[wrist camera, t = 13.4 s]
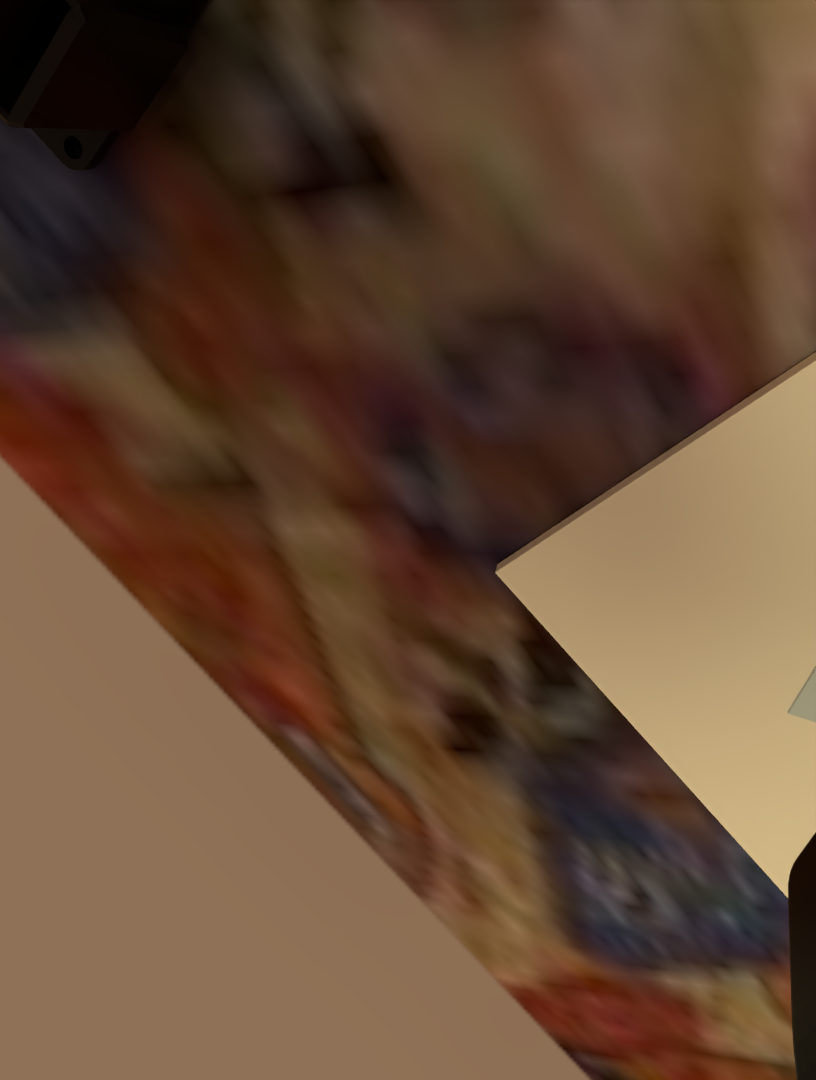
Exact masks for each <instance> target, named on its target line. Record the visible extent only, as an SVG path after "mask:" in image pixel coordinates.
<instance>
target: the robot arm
mask: <svg viewBox="0 0 816 1080" xmlns="http://www.w3.org/2000/svg"><path fill="white" fill-rule="evenodd" d="M207 2H208V0H0V117H1V118H2V119H3V120H4V121H5V122H6V124H7V125H9V126H11V127H23V128H31V129H32V130H33V131H34V132H35V133H36V134H37V135H38V136H39V137H40V139H41V140H42V141H43V142H44V143H45V144H46V145H47V146H48V147H49V148H50V149H51V150H52V152H53V153H54V154H55V155H56V156H57V157H58V158H59V159H60V160H61V161H62V162H63V163H64V164H65V165H66V166H67V167H69V168H70V169H74V170H89V169H93V168H94V167H95V166H96V165H97V164H98V163H99V162H100V160H101V159H102V157H103V156H104V154H105V153H106V151H107V150H108V148H109V147H110V146H111V144H112V143H113V141H114V140H115V138H116V137H117V135H118V134H119V132H120V131H131V130H132V129H133V128H134V127H135V125H136V124H137V122H138V121H139V119H140V118H141V116H142V115H143V113H144V112H145V110H146V109H147V108H148V106H149V105H150V103H151V102H152V100H153V99H154V97H155V96H156V94H157V93H158V91H159V90H160V89H161V87H162V86H163V84H164V83H165V81H166V80H167V78H168V77H169V75H170V74H171V72H172V71H173V70H174V68H175V67H176V65H177V64H178V62H179V61H180V59H181V58H182V56H183V55H184V53H185V52H186V51H187V49H188V32H187V31H188V30H189V28H190V27H191V25H192V24H193V23H194V21H195V20H196V18H197V17H198V15H199V14H200V12H201V11H202V9H203V8H204V6H205V5H206V3H207ZM76 138H77V139H79V141H80V143H81V145H82V150H83V152H82V155H81V157H79V156H78V155H77V153H76V152H75V149H74V142H75V139H76ZM788 907H789V940H790V973H791V1007H792V1030H793V1047H794V1056H795V1065H796V1074H797V1080H816V832H815V834H814V835H813V836H812V838H811V839H810V841H809V842H808V843H807V845H806V846H805V848H804V849H803V850H802V852H801V853H800V854H799V856H798V857H797V859H796V860H795V862H794V864H793V866H792V868H791V871H790V875H789V881H788Z"/></svg>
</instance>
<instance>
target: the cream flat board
mask: <svg viewBox="0 0 816 1080" xmlns="http://www.w3.org/2000/svg"><path fill="white" fill-rule="evenodd" d="M495 573H496V574H497V575H498V576H499V578H500V579H501V580H502V581H503V582H504V583H505V584H506V585H507V586H508V588H509V589H510V590H511V591H512V592H513V593H514V594H515V595H516V596H517V598H518V599H519V600H520V601H521V602H522V603H523V604H524V605H525V606H526V608H527V609H528V610H529V611H530V612H531V613H532V614H533V615H534V616H535V618H536V619H537V620H538V621H539V622H540V623H541V624H542V625H543V626H544V628H545V629H546V630H547V631H548V632H549V633H550V634H551V635H552V636H553V638H554V639H555V640H556V641H557V642H558V643H559V644H560V645H561V646H562V648H563V649H564V650H565V651H566V652H567V653H568V654H569V655H570V656H571V658H572V659H573V660H574V661H575V662H576V663H577V664H578V665H579V666H580V668H581V669H582V670H583V671H584V672H585V673H586V674H587V675H588V676H589V678H590V679H591V680H592V681H593V682H594V683H595V684H596V685H597V686H598V688H599V689H600V690H601V691H602V692H603V693H604V694H605V695H606V696H607V698H608V699H609V700H610V701H611V702H612V703H613V704H614V705H615V706H616V708H617V709H618V710H619V711H620V712H621V713H622V714H623V715H624V716H625V718H626V719H627V720H628V721H629V722H630V723H631V724H632V725H633V726H634V728H635V729H636V730H637V731H638V732H639V733H640V734H641V735H642V736H643V738H644V739H645V740H646V741H647V742H648V743H649V744H650V745H651V746H652V748H653V749H654V750H655V751H656V752H657V753H658V754H659V755H660V756H661V758H662V759H663V760H664V761H665V762H666V763H667V764H668V765H669V766H670V768H671V769H672V770H673V771H674V772H675V773H676V774H677V775H678V776H679V778H680V779H681V780H682V781H683V782H684V783H685V784H686V785H687V786H688V788H689V789H690V790H691V791H692V792H693V793H694V794H695V795H696V796H697V798H698V799H699V800H700V801H701V802H702V803H703V804H704V805H705V806H706V808H707V809H708V810H709V811H710V812H711V813H712V814H713V815H714V816H715V818H716V819H717V820H718V821H719V822H720V823H721V824H722V825H723V826H724V828H725V829H726V830H727V831H728V832H729V833H730V834H731V835H732V836H733V838H734V839H735V840H736V841H737V842H738V843H739V844H740V845H741V846H742V848H743V849H744V850H745V851H746V852H747V853H748V854H749V855H750V856H751V858H752V859H753V860H754V861H755V862H756V863H757V864H758V865H759V866H760V868H761V869H762V870H763V871H764V872H765V873H766V874H767V875H768V876H769V878H770V879H771V880H772V881H773V882H774V883H775V884H776V885H777V886H778V888H779V889H780V890H781V891H782V892H783V893H784V894H785V895H786V896H787V898H788V881H789V875H790V871H791V868H792V866H793V864H794V862H795V860H796V859H797V857H798V856H799V854H800V853H801V852H802V850H803V849H804V848H805V846H806V845H807V843H808V842H809V841H810V839H811V838H812V836H813V835H814V834H815V832H816V352H815V353H813V354H812V355H810V356H809V357H807V358H806V359H804V360H803V361H801V362H800V363H798V364H797V365H795V366H794V367H792V368H791V369H789V370H788V371H786V372H785V373H783V374H782V375H780V376H779V377H777V378H776V379H774V380H773V381H771V382H770V383H768V384H767V385H765V386H764V387H762V388H761V389H759V390H758V391H756V392H755V393H753V394H752V395H750V396H749V397H747V398H746V399H744V400H743V401H741V402H740V403H738V404H737V405H735V406H734V407H732V408H731V409H729V410H728V411H726V412H725V413H723V414H722V415H720V416H719V417H717V418H716V419H714V420H713V421H711V422H710V423H708V424H707V425H705V426H704V427H702V428H701V429H699V430H698V431H696V432H695V433H693V434H692V435H690V436H689V437H687V438H686V439H684V440H683V441H681V442H680V443H678V444H677V445H675V446H674V447H672V448H671V449H669V450H668V451H666V452H665V453H663V454H662V455H660V456H659V457H657V458H656V459H654V460H653V461H651V462H650V463H648V464H647V465H645V466H644V467H642V468H641V469H639V470H638V471H636V472H635V473H633V474H632V475H630V476H629V477H627V478H626V479H624V480H623V481H621V482H620V483H618V484H617V485H615V486H614V487H612V488H611V489H609V490H608V491H606V492H605V493H603V494H602V495H600V496H599V497H597V498H596V499H594V500H593V501H591V502H590V503H588V504H587V505H585V506H584V507H582V508H581V509H579V510H578V511H576V512H575V513H573V514H572V515H570V516H569V517H567V518H566V519H564V520H563V521H561V522H560V523H558V524H557V525H555V526H554V527H552V528H551V529H549V530H548V531H546V532H545V533H543V534H542V535H540V536H539V537H537V538H536V539H534V540H533V541H531V542H530V543H528V544H527V545H525V546H524V547H522V548H521V549H519V550H518V551H516V552H515V553H513V554H512V555H510V556H509V557H507V558H506V559H504V560H503V561H501V562H500V563H498V564H497V568H496V571H495Z"/></svg>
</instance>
